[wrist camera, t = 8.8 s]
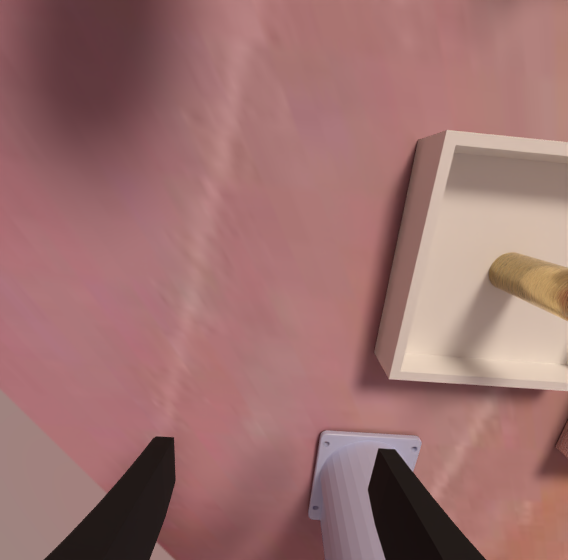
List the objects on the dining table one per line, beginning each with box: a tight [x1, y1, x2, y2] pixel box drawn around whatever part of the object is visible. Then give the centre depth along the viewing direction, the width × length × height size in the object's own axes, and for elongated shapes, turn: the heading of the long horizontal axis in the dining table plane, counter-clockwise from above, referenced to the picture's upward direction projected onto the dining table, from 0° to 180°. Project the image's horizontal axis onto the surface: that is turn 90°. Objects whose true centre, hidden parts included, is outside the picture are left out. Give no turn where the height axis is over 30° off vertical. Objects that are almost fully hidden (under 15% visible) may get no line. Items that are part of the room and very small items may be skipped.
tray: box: [374, 130, 568, 391], centre depth 18 cm, size 14×14×3 cm
